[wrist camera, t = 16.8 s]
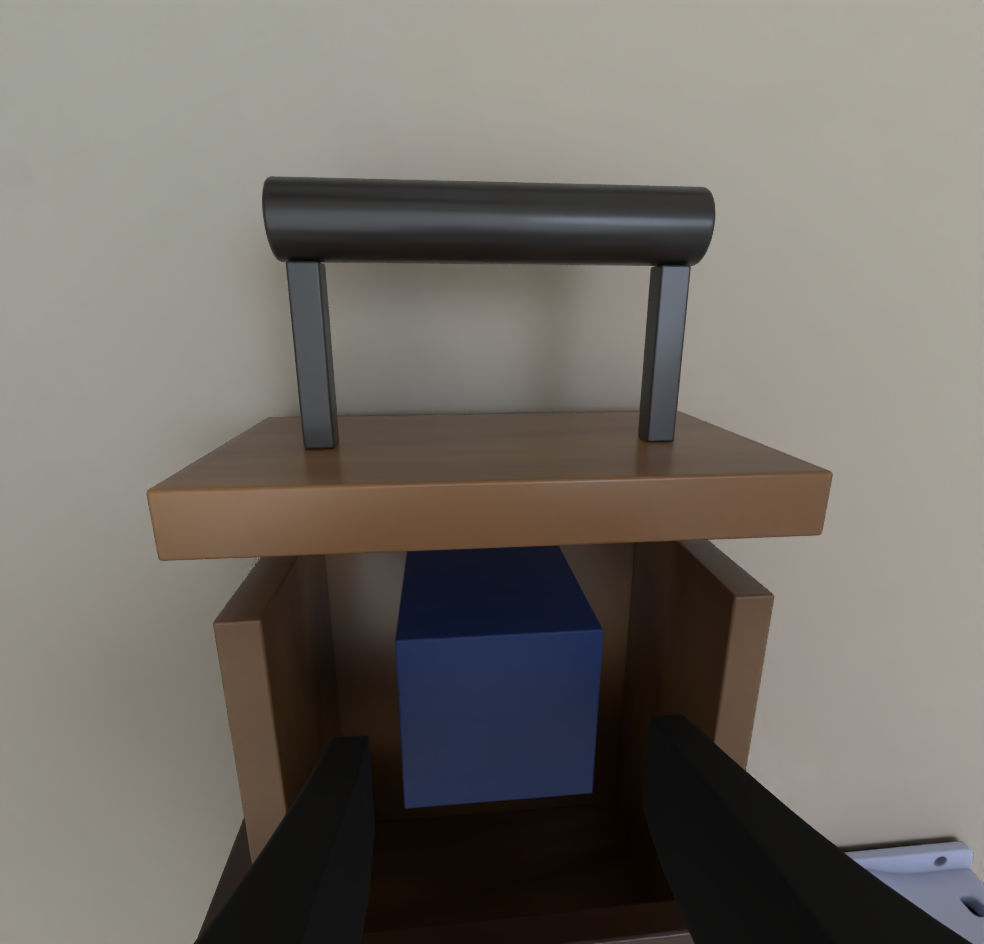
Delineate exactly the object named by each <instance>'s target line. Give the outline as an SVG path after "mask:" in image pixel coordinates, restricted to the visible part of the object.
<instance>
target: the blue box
mask: <svg viewBox="0 0 984 944" xmlns="http://www.w3.org/2000/svg"><path fill="white" fill-rule="evenodd" d="M602 645H603V628H602V626H601V624H600V623H599V621H598V619H597V617H596V615H595V613H594V611H593V609H592V607H591V605H590V604H589V602H588V600H587V598H586V596H585V594H584V592H583V590H582V588H581V587H580V585H579V583H578V581H577V579H576V577H575V575H574V573H573V571H572V569H571V568H570V566H569V564H568V562H567V560H566V558H565V556H564V554H563V552H562V550H561V549H560V547H559V545H556V546H530V547H504V548H478V549H453V550H427V551H407V554H406V561H405V569H404V576H403V584H402V592H401V599H400V607H399V615H398V622H397V630H396V637H395V652H396V670H397V688H398V706H399V724H400V741H401V759H402V777H403V795H404V807H405V808H406V809H407V808H419V807H431V806H444V805H456V804H468V803H480V802H492V801H504V800H516V799H529V798H541V797H553V796H565V795H577V794H589V793H592V792H593V780H594V765H595V750H596V735H597V720H598V705H599V690H600V675H601V660H602Z"/></svg>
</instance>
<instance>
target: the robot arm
mask: <svg viewBox="0 0 984 944" xmlns="http://www.w3.org/2000/svg"><path fill="white" fill-rule="evenodd" d="M642 807H643V810H644V813H645V817H646V820H647V823H648V827H649V830H650V833H651V836H652V840H653V843H654V846H655V849H656V852H657V855H658V858H659V861H660V864H661V867H662V869H663V872H664V874H665V877H666V879H667V881H668V884H669V886H670V888H671V891H672V893H673V895H674V898H675V900H676V902H677V905H678V907H679V909H680V912H681V914H682V916H683V919H684V921H685V923H686V926H687V928H688V930H689V933H690V935H691V937H692V940H693V942H694V944H984V883H983V882H982V881H981V880H980V879H979V878H978V877H977V876H976V875H975V874H974V873H973V872H972V871H971V870H970V867H971V864H972V861H973V856H974V853H973V851H972V850H971V849H970V848H969V847H968V846H967V845H966V844H965V843H963V842H946V843H936V844H926V845H915V846H905V847H895V848H884V849H874V850H864V851H854V852H843V851H842V850H840V849H839V848H838V847H836V846H835V845H834V844H833V843H831V842H830V841H829V840H828V839H826V838H825V837H824V836H822V835H821V834H820V833H819V832H817V831H816V830H815V829H814V828H812V827H811V826H810V825H809V824H807V823H806V822H805V821H804V820H803V819H801V818H800V817H799V816H798V815H796V814H795V813H794V812H793V811H792V810H790V809H789V808H788V807H787V806H786V805H785V804H783V803H782V802H781V801H780V800H779V799H777V798H776V797H775V796H774V795H773V794H772V793H770V792H769V791H768V790H767V789H766V788H765V787H763V786H762V785H761V784H760V783H759V782H758V781H757V780H755V779H754V778H753V777H752V776H751V775H750V774H749V773H747V772H746V771H745V770H744V769H743V768H742V767H741V766H740V765H738V764H737V763H736V762H735V761H734V760H733V759H732V758H731V757H729V756H728V755H727V754H726V753H725V752H724V751H723V750H722V749H721V748H719V747H718V746H717V745H716V744H715V743H714V742H713V741H712V740H711V739H710V738H708V737H707V736H706V735H705V734H704V733H703V732H702V731H701V730H700V729H698V728H697V727H696V726H695V725H694V724H693V723H692V722H691V721H689V720H688V719H687V718H686V717H685V716H684V715H682V714H676V715H661V716H650V724H649V734H648V744H647V755H646V765H645V775H644V786H643V796H642ZM374 836H375V814H374V801H373V788H372V774H371V761H370V748H369V735H365V736H350V737H335V738H333V739H332V740H331V741H330V742H329V743H327V745H326V747H325V749H324V751H323V753H322V755H321V757H320V758H319V760H318V762H317V764H316V765H315V767H314V769H313V771H312V772H311V774H310V776H309V778H308V779H307V781H306V783H305V784H304V786H303V788H302V789H301V791H300V792H299V794H298V796H297V797H296V799H295V801H294V802H293V804H292V805H291V807H290V809H289V810H288V812H287V813H286V815H285V816H284V818H283V819H282V821H281V822H280V824H279V825H278V827H277V828H276V830H275V831H274V833H273V835H272V836H271V838H270V839H269V841H268V842H267V844H266V845H265V847H264V848H263V850H262V851H261V853H260V854H259V856H258V857H257V858H256V860H255V861H254V863H253V864H252V866H251V867H250V868H249V870H248V871H247V872H246V874H245V875H244V877H243V878H242V879H241V881H240V882H239V884H238V885H237V886H236V888H235V889H234V890H233V892H232V893H231V895H230V896H229V897H228V899H227V900H226V902H225V903H224V904H223V906H222V907H221V908H220V910H219V911H218V913H217V914H216V915H215V917H214V918H213V919H212V920H211V922H210V923H209V924H208V926H207V927H206V928H205V930H204V931H203V932H202V933H201V935H200V936H199V937H198V939H197V940H196V941H195V942H194V944H361V939H362V933H363V927H364V922H365V916H366V910H367V905H368V899H369V893H370V882H371V871H372V860H373V848H374Z"/></svg>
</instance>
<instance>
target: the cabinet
mask: <svg viewBox="0 0 984 944" xmlns="http://www.w3.org/2000/svg"><path fill="white" fill-rule="evenodd" d="M251 866H252V862H251V855H250V849H249V843H248V837H247V831H246V824H245V818H244V819H243V821H242V824H241V827H240V829H239V832H238V834H237V837H236V840H235V842H234V845H233V847H232V850H231V853H230V855H229V858H228V860H227V863H226V865H225V868H224V871H223V873H222V876H221V878H220V881H219V884H218V886H217V889H216V891H215V894H214V897H213V899H212V902H211V904H210V907H209V909H208V912H207V915H206V917H205V920H204V922H203V925H202V928H201V930H200V933H199V935H198V937H199V936H200V935H201V933H202V932H203V931H204V930H205V928H206V927H207V926H208V924H209V923H210V922H211V920H212V919H213V918H214V917H215V915H216V914H217V913H218V911H219V910H220V908H221V907H222V906H223V904H224V903H225V902H226V900H227V899H228V897H229V896H230V895H231V893H232V892H233V890H234V889H235V888H236V886H237V885H238V884H239V882H240V881H241V879H242V878H243V877H244V875H245V874H246V872H247V871H248V870H249V868H250V867H251ZM197 939H198V938H197ZM361 944H694V942H693V940H692V937H691V935H690V933H689V930H688V928H687V926H686V923H685V921H684V919H683V916H682V914H681V912H680V909H679V907H678V905H677V902H676V900H665V901H656V902H646V903H636V904H626V905H617V906H607V907H597V908H587V909H578V910H568V911H558V912H548V913H539V914H529V915H519V916H509V917H500V918H490V919H480V920H470V921H461V922H451V923H441V924H431V925H422V926H412V927H402V928H392V929H383V930H373V931H363V933H362V939H361Z"/></svg>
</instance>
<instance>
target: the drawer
mask: <svg viewBox="0 0 984 944" xmlns="http://www.w3.org/2000/svg"><path fill="white" fill-rule="evenodd" d="M262 209H263V218H264V225H265V230H266V234H267V238H268V242H269V245H270V247H271V250H272V252H273V254H274V256H275V257H276V259H277V260H279V261H281V262H286V270H287V281H288V291H289V301H290V311H291V321H292V331H293V342H294V352H295V362H296V372H297V382H298V393H299V403H300V413H301V417H269V418H267V419H265V420H263V421H262V422H260V423H258V424H257V425H255V426H253V427H252V428H250V429H248V430H247V431H245V432H243V433H242V434H240V435H239V436H237V437H235V438H234V439H232V440H230V441H229V442H227V443H225V444H224V445H222V446H220V447H219V448H217V449H215V450H214V451H212V452H210V453H209V454H207V455H205V456H204V457H202V458H200V459H199V460H197V461H195V462H194V463H192V464H190V465H189V466H187V467H185V468H184V469H182V470H180V471H179V472H177V473H175V474H174V475H172V476H170V477H169V478H167V479H165V480H164V481H162V482H160V483H159V484H157V485H155V486H154V487H152V488H150V489H149V490H147V499H148V504H149V510H150V515H151V520H152V526H153V531H154V537H155V542H156V547H157V553H158V558H159V560H161V561H168V560H194V559H220V558H246V557H261V558H260V559H259V561H258V562H257V563H256V565H255V566H254V568H253V569H252V570H251V572H250V573H249V574H248V576H247V577H246V578H245V580H244V581H243V583H242V584H241V585H240V587H239V588H238V589H237V591H236V592H235V593H234V595H233V596H232V598H231V599H230V600H229V602H228V603H227V604H226V606H225V607H224V609H223V610H222V611H221V613H220V614H219V615H218V617H217V618H216V619H215V621H214V623H213V626H214V632H215V638H216V644H217V651H218V657H219V663H220V669H221V676H222V682H223V688H224V694H225V700H226V707H227V713H228V719H229V725H230V731H231V738H232V744H233V750H234V756H235V762H236V769H237V775H238V781H239V787H240V793H241V800H242V806H243V812H244V818H245V824H246V831H247V837H248V843H249V849H250V855H251V862H252V864H253V863H254V861H255V860H256V858H257V857H258V856H259V854H260V853H261V851H262V850H263V848H264V847H265V845H266V844H267V842H268V841H269V839H270V838H271V836H272V835H273V833H274V831H275V830H276V828H277V827H278V825H279V824H280V822H281V821H282V819H283V818H284V816H285V815H286V813H287V812H288V810H289V809H290V807H291V805H292V804H293V802H294V801H295V799H296V797H297V796H298V794H299V792H300V791H301V789H302V788H303V786H304V784H305V783H306V781H307V779H308V778H309V776H310V774H311V772H312V771H313V769H314V767H315V765H316V764H317V762H318V760H319V758H320V757H321V755H322V753H323V751H324V749H325V747H326V745H327V743H329V742H330V741H331V740H332V739H333V738H335V737H350V736H365V735H369V748H370V761H371V774H372V788H373V801H374V814H375V836H374V848H373V860H372V871H371V882H370V893H369V899H368V905H367V910H366V916H365V922H364V927H363V931H373V930H383V929H392V928H402V927H412V926H422V925H431V924H441V923H451V922H461V921H470V920H480V919H490V918H500V917H509V916H519V915H529V914H539V913H548V912H558V911H568V910H578V909H587V908H597V907H607V906H617V905H626V904H636V903H646V902H656V901H665V900H675V898H674V895H673V893H672V891H671V888H670V886H669V884H668V881H667V879H666V877H665V874H664V872H663V869H662V867H661V864H660V861H659V858H658V855H657V852H656V849H655V846H654V843H653V840H652V836H651V833H650V830H649V827H648V823H647V820H646V817H645V813H644V810H643V807H642V796H643V786H644V775H645V765H646V755H647V744H648V734H649V724H650V716H661V715H676V714H682V715H684V716H685V717H686V718H687V719H688V720H689V721H691V722H692V723H693V724H694V725H695V726H696V727H697V728H698V729H700V730H701V731H702V732H703V733H704V734H705V735H706V736H707V737H708V738H710V739H711V740H712V741H713V742H714V743H715V744H716V745H717V746H718V747H719V748H721V749H722V750H723V751H724V752H725V753H726V754H727V755H728V756H729V757H731V758H732V759H733V760H734V761H735V762H736V763H737V764H738V765H740V766H741V767H742V768H743V769H744V770H745V771H746V766H747V760H748V754H749V748H750V742H751V736H752V730H753V723H754V717H755V711H756V705H757V699H758V693H759V687H760V681H761V675H762V668H763V662H764V656H765V650H766V644H767V638H768V632H769V626H770V620H771V613H772V607H773V601H774V595H773V594H772V593H771V592H770V591H769V590H768V589H766V588H765V587H764V586H763V585H762V584H760V583H759V582H758V581H757V580H755V579H754V578H753V577H752V576H751V575H749V574H748V573H747V572H746V571H745V570H743V569H742V568H741V567H740V566H739V565H737V564H736V563H735V562H734V561H733V560H731V559H730V558H729V557H728V556H727V555H725V554H724V553H723V552H722V551H721V550H719V549H718V548H717V547H716V546H715V545H713V544H712V543H711V542H710V541H709V540H711V539H737V538H763V537H789V536H814V535H821V533H822V530H823V524H824V519H825V514H826V508H827V503H828V497H829V492H830V486H831V481H832V476H833V475H832V472H831V471H829V470H826V469H824V468H821V467H818V466H816V465H813V464H811V463H808V462H806V461H803V460H801V459H798V458H796V457H793V456H791V455H788V454H786V453H783V452H781V451H778V450H776V449H773V448H770V447H768V446H765V445H763V444H760V443H758V442H755V441H753V440H750V439H748V438H745V437H743V436H740V435H738V434H735V433H733V432H730V431H728V430H725V429H723V428H720V427H717V426H715V425H712V424H710V423H707V422H705V421H702V420H700V419H697V418H695V417H692V416H690V415H687V414H685V413H682V412H680V411H677V403H678V392H679V382H680V372H681V361H682V351H683V341H684V330H685V320H686V310H687V300H688V289H689V279H690V269H691V267H690V266H693V265H695V264H697V263H699V262H700V261H701V260H702V258H703V257H704V255H705V253H706V252H707V249H708V247H709V245H710V242H711V239H712V235H713V230H714V224H715V203H714V198H713V195H712V193H711V192H710V190H708V189H707V188H705V187H682V186H642V185H601V184H560V183H519V182H478V181H437V180H396V179H356V178H315V177H274V176H270V177H268V178H266V180H265V182H264V186H263V193H262ZM320 262H333V263H430V264H527V265H624V266H655V267H652V268H651V273H650V286H649V299H648V312H647V324H646V337H645V350H644V363H643V376H642V388H641V401H640V412H585V413H520V414H456V415H392V416H337V408H336V395H335V383H334V370H333V357H332V345H331V332H330V319H329V307H328V294H327V282H326V269H325V265H324V264H322V263H320ZM556 545H559V547H560V549H561V550H562V552H563V554H564V556H565V558H566V560H567V562H568V564H569V566H570V568H571V569H572V571H573V573H574V575H575V577H576V579H577V581H578V583H579V585H580V587H581V588H582V590H583V592H584V594H585V596H586V598H587V600H588V602H589V604H590V605H591V607H592V609H593V611H594V613H595V615H596V617H597V619H598V621H599V623H600V624H601V626H602V628H603V645H602V660H601V675H600V690H599V705H598V720H597V735H596V750H595V765H594V780H593V792H592V793H589V794H577V795H565V796H553V797H541V798H529V799H516V800H504V801H492V802H480V803H468V804H456V805H444V806H431V807H419V808H407V809H406V808H405V807H404V795H403V777H402V759H401V741H400V724H399V706H398V688H397V670H396V652H395V637H396V630H397V622H398V615H399V607H400V599H401V592H402V584H403V576H404V569H405V561H406V554H407V551H427V550H453V549H478V548H504V547H530V546H556Z"/></svg>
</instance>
